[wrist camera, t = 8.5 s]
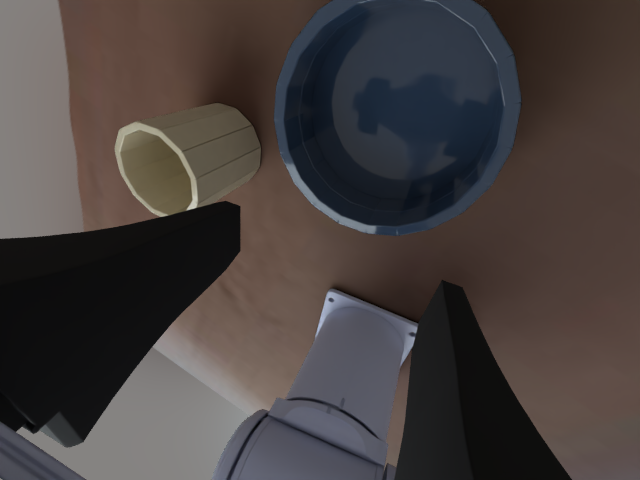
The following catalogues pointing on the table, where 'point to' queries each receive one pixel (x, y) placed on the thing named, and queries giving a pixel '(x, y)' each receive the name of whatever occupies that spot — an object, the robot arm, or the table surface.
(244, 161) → the small pot
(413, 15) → the big pot
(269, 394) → the table surface
